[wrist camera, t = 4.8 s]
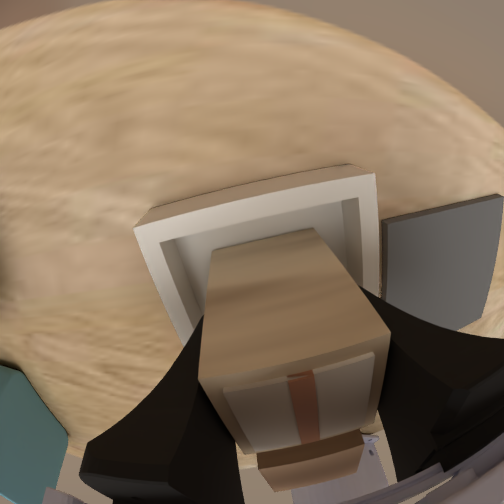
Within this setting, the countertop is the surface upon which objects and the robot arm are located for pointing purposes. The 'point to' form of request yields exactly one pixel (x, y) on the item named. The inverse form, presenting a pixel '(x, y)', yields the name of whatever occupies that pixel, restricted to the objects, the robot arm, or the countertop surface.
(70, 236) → the countertop surface
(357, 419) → the labelled box
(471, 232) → the mat
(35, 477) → the data package
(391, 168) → the countertop surface
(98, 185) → the countertop surface
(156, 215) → the bin
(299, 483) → the walnut box
